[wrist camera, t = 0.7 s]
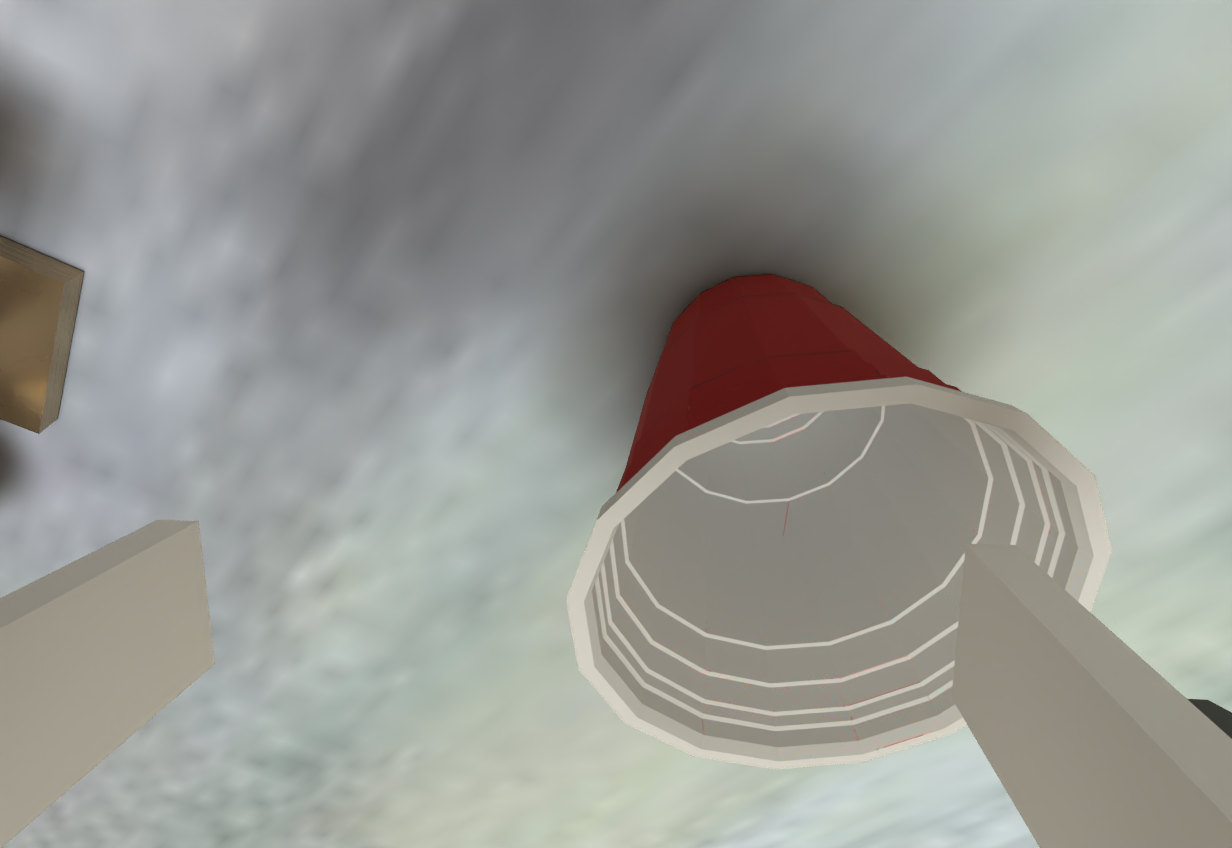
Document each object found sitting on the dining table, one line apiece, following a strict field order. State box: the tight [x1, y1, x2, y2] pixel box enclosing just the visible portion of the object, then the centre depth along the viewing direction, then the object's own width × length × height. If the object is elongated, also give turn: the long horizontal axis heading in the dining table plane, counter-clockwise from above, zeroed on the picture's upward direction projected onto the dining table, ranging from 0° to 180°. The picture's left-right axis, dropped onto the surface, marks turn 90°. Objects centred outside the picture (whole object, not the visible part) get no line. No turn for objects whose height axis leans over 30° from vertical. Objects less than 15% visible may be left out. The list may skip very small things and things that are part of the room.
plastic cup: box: [566, 274, 1112, 769], centre depth 21 cm, size 11×11×12 cm
